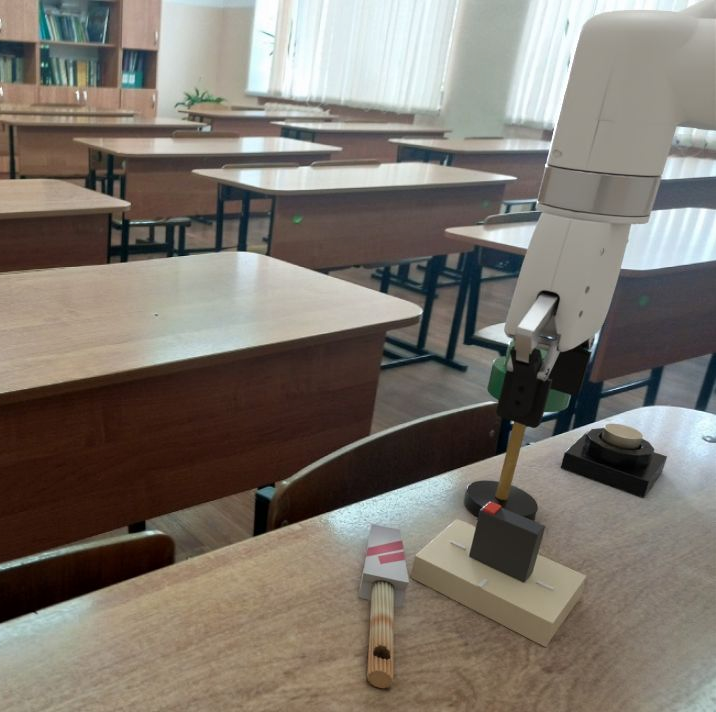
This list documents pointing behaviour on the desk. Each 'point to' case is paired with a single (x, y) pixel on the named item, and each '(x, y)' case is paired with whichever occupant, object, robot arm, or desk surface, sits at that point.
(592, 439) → the lamp switch
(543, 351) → the desk lamp
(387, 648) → the paintbrush
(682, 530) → the desk surface
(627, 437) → the button
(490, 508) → the dimmer knob
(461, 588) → the dimmer
